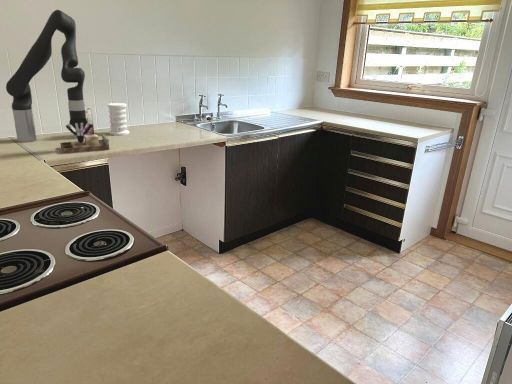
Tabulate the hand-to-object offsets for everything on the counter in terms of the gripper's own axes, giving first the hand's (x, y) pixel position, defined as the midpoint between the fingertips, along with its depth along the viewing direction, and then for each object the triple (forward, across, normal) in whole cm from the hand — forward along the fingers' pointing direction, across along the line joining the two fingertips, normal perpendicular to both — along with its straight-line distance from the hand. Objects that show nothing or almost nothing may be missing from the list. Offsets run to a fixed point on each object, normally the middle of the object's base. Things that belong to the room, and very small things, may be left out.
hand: (80, 142), depth 203 cm
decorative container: (+4, +26, +32) cm, 41 cm away
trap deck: (+3, +2, 0) cm, 4 cm away
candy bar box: (+4, +6, +30) cm, 31 cm away
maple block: (+1, +5, 0) cm, 5 cm away
